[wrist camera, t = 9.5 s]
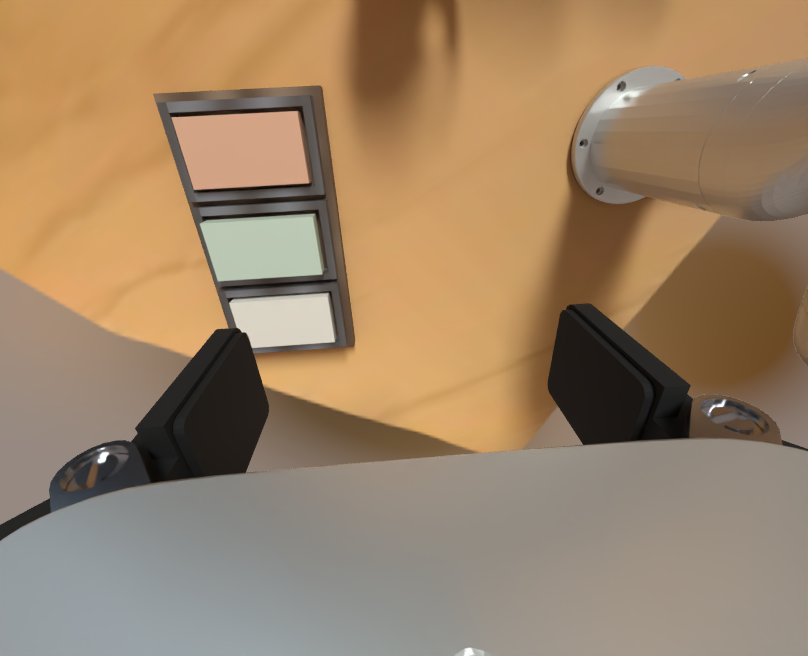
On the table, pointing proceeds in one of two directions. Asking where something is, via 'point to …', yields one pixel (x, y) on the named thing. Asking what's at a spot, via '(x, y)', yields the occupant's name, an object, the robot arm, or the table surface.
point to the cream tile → (285, 319)
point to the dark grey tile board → (271, 198)
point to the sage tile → (264, 247)
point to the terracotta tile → (244, 149)
